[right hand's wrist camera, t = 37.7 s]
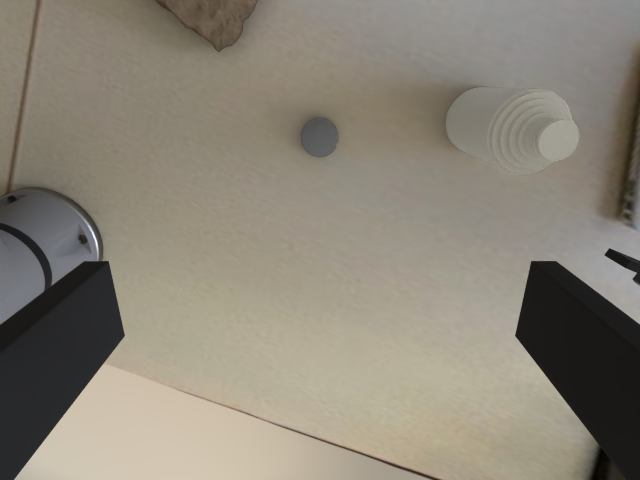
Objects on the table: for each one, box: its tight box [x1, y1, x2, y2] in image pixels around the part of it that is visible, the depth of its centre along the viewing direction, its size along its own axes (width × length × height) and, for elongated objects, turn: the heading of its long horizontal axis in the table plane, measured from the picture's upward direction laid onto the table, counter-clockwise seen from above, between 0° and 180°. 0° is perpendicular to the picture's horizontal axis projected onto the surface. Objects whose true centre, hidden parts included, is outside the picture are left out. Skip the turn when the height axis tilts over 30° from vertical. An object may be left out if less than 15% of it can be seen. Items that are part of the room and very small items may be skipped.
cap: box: [301, 118, 338, 157], centre depth 50 cm, size 5×5×2 cm
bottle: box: [445, 87, 579, 175], centre depth 41 cm, size 8×8×18 cm
